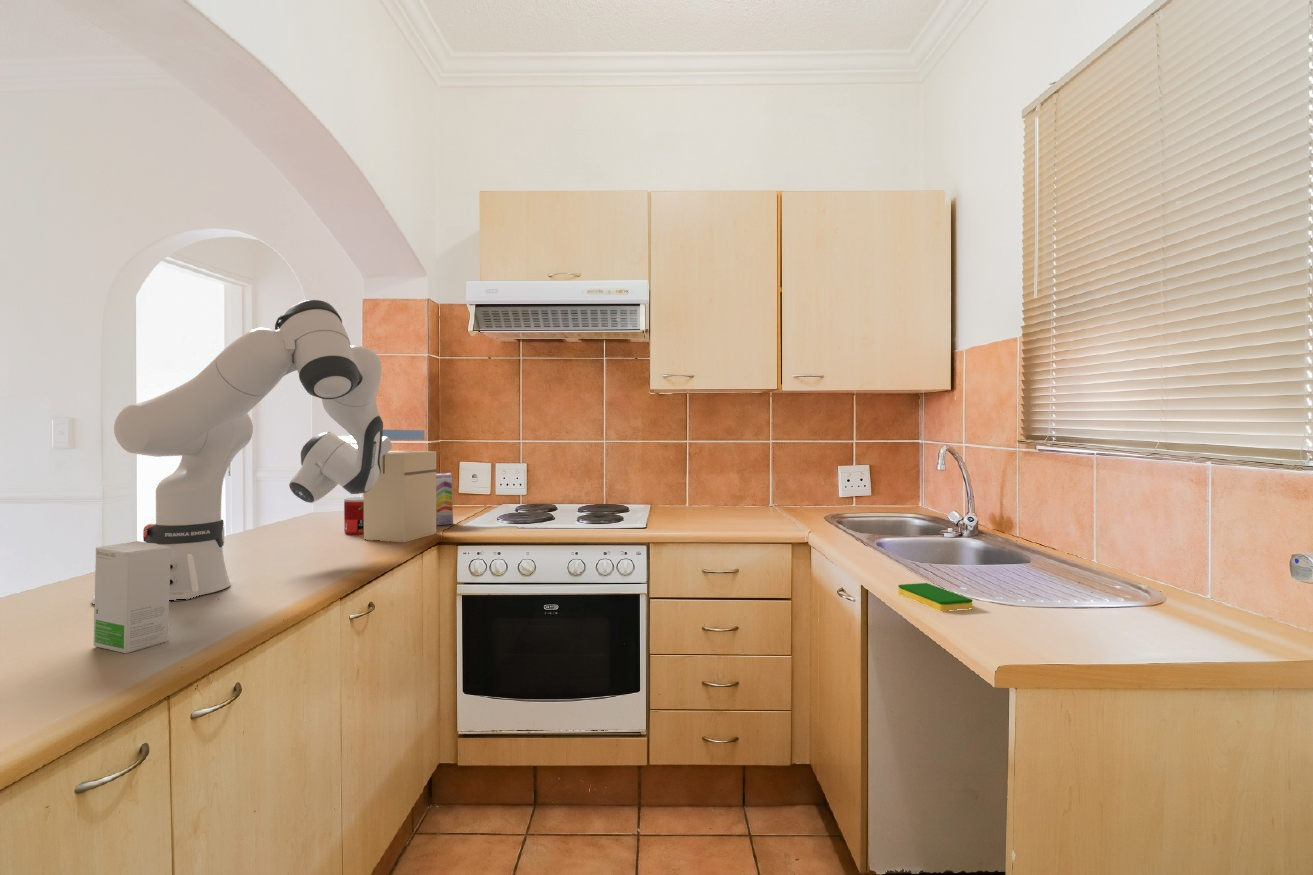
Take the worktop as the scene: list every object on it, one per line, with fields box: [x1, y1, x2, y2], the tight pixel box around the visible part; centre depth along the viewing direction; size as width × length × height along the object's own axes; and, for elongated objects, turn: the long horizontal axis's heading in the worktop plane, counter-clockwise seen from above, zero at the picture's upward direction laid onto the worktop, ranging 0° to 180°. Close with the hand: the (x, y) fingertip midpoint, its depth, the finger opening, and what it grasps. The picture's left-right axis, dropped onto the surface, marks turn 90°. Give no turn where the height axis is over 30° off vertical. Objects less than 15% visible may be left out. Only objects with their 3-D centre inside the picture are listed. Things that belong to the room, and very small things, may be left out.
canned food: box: [343, 496, 364, 536], centre depth 207 cm, size 8×8×11 cm
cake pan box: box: [436, 472, 454, 526], centre depth 223 cm, size 19×5×18 cm, turn 111°
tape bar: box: [383, 429, 426, 441], centre depth 196 cm, size 25×4×3 cm, turn 164°
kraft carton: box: [363, 450, 437, 543], centre depth 201 cm, size 16×14×26 cm
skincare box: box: [93, 541, 171, 654], centre depth 103 cm, size 8×7×16 cm
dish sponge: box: [897, 582, 973, 612], centre depth 131 cm, size 7×14×2 cm, turn 14°
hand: (371, 432), depth 187 cm, fingers closed on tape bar, 4 cm apart
